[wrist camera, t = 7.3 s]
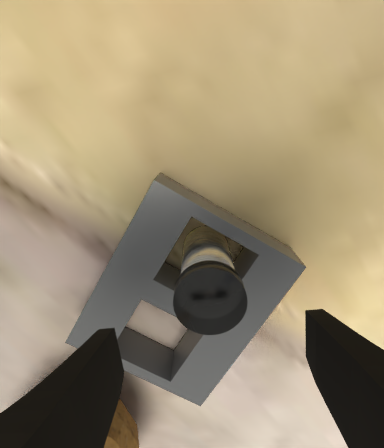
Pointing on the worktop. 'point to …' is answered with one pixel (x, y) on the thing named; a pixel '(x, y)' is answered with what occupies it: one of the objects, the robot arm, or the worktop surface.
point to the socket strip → (165, 285)
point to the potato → (122, 430)
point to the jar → (208, 285)
